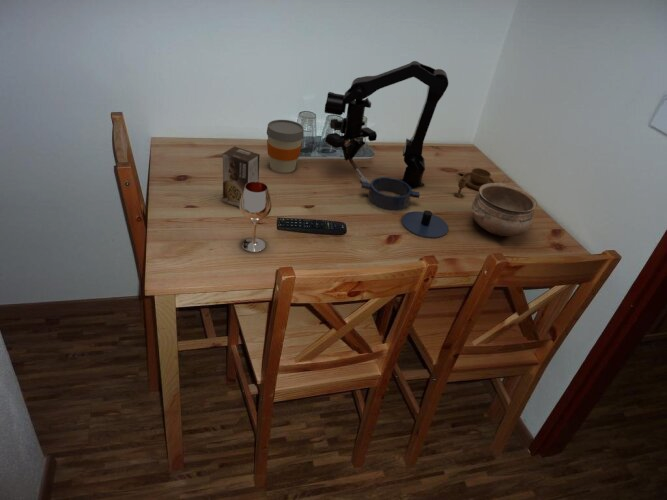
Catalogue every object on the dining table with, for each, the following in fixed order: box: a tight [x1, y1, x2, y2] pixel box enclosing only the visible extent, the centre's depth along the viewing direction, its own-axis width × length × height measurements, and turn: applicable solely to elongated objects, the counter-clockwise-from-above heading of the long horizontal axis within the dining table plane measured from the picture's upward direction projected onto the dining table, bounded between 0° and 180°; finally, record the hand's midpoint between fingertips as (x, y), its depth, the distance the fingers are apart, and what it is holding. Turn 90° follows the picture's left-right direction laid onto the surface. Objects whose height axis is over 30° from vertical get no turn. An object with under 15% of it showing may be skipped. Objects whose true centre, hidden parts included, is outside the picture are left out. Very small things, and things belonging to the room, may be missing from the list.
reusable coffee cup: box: [266, 119, 305, 174], centre depth 175 cm, size 13×12×15 cm
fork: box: [347, 156, 370, 183], centre depth 177 cm, size 15×2×8 cm, turn 37°
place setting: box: [454, 167, 496, 198], centre depth 185 cm, size 18×20×6 cm
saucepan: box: [361, 176, 420, 212], centre depth 167 cm, size 14×19×6 cm
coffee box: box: [222, 146, 261, 208], centre depth 152 cm, size 9×6×16 cm
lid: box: [401, 210, 449, 239], centre depth 157 cm, size 15×15×5 cm
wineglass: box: [238, 181, 272, 253], centre depth 133 cm, size 8×8×18 cm
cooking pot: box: [470, 182, 538, 237], centre depth 159 cm, size 25×19×12 cm
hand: (348, 159), depth 179 cm, fingers closed
